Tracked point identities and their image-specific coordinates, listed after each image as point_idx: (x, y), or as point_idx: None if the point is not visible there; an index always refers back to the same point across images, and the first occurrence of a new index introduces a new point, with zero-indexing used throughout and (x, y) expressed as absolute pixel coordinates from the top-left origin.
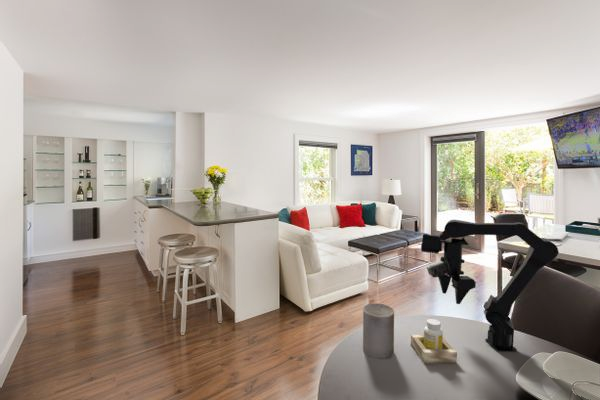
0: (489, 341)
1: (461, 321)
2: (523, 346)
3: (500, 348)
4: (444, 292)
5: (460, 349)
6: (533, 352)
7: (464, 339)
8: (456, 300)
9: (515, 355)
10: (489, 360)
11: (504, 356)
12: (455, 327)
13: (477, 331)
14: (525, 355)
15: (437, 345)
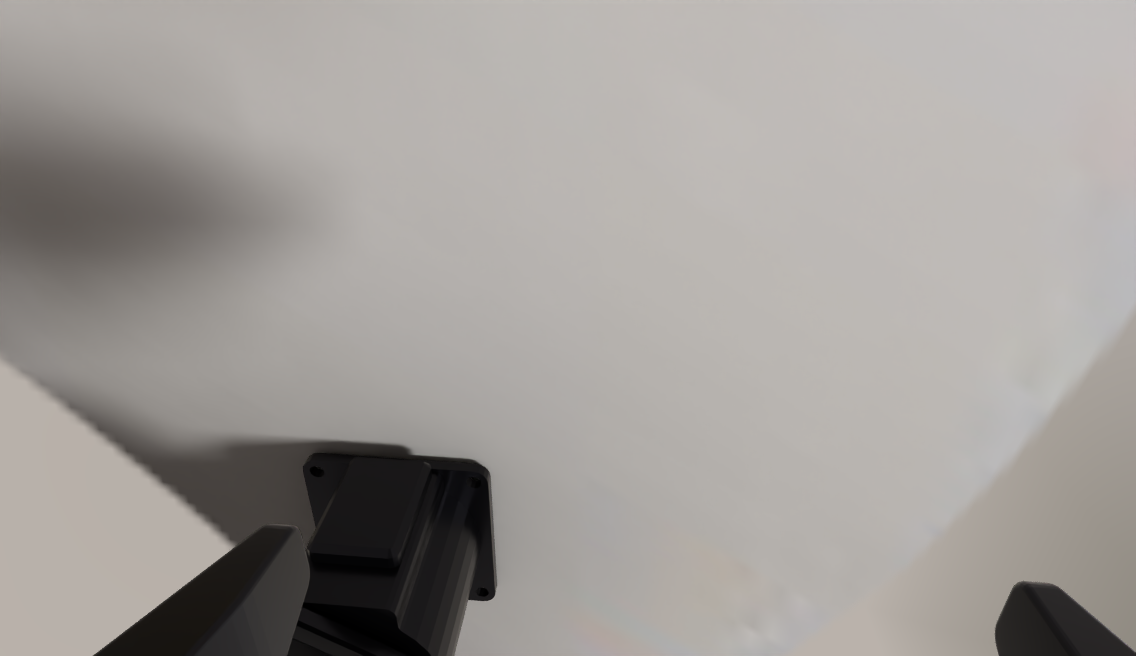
0: (387, 471)
1: (899, 483)
2: None
3: (325, 490)
4: (1017, 630)
5: (284, 124)
6: None
7: (506, 292)
8: (211, 585)
9: None
10: (136, 295)
11: (238, 449)
12: (780, 348)
13: (664, 501)
14: None
15: None
